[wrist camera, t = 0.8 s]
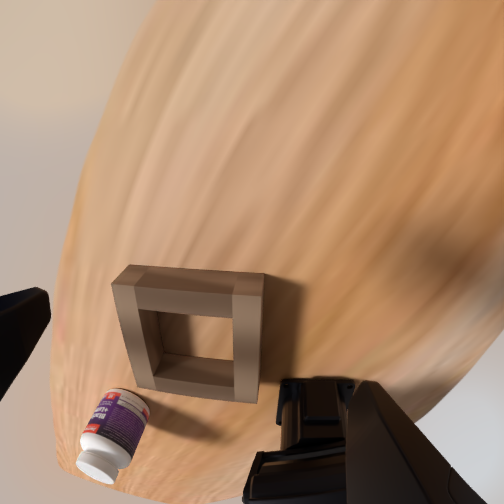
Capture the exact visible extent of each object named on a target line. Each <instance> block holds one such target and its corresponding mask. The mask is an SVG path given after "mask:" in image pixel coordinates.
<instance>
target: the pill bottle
mask: <svg viewBox="0 0 504 504" xmlns="http://www.w3.org/2000/svg"><path fill="white" fill-rule="evenodd" d="M149 416H150V411H149V408H148V406H147V405H146V403H145V402H144V401H143V400H142V399H140V398H139V397H138V396H136V395H134V394H133V393H131V392H128V391H126V390H123V389H117V388H115V389H110V390H108V391H107V392H106V393H105V395H104V396H103V398H102V400H101V402H100V403H99V405H98V407H97V409H96V410H95V412H94V414H93V416H92V418H91V419H90V421H89V423H88V425H87V427H86V428H85V430H84V432H83V434H82V436H81V439H80V443H81V446H82V448H83V450H84V451H82V452H81V453H80V455H79V457H78V459H77V461H76V465H77V467H78V468H79V469H80V470H81V471H83V472H84V473H85V474H87V475H88V476H90V477H92V478H93V479H95V480H98V481H100V482H103V483H106V484H113V483H114V482H115V480H116V478H117V476H118V472H119V471H118V469H123V468H126V467H128V466H129V464H130V462H131V460H132V458H133V456H134V453H135V450H136V448H137V446H138V443H139V441H140V438H141V436H142V433H143V431H144V429H145V426H146V424H147V422H148V419H149Z"/></svg>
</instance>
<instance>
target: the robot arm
mask: <svg viewBox="0 0 504 504" xmlns="http://www.w3.org/2000/svg"><path fill="white" fill-rule="evenodd" d="M50 319H51V310H50V302H49V295H48V293H47V291H45V290H43V289H40V288H38V287H33V288H30V289H26V290H22V291H18V292H14V293H10V294H7V295H3V296H0V401H1V399H2V398H3V397H4V395H5V393H6V392H7V390H8V389H9V387H10V385H11V384H12V383H13V381H14V379H15V378H16V376H17V375H18V373H19V372H20V371H21V369H22V367H23V366H24V365H25V363H26V362H27V360H28V358H29V357H30V355H31V353H32V351H33V350H34V348H35V346H36V344H37V342H38V341H39V339H40V337H41V335H42V334H43V332H44V330H45V328H46V327H47V325H48V323H49V322H50ZM285 384H288V385H285ZM349 385H350V386H349ZM354 389H355V382H354V381H353V380H306V379H283V380H282V381H281V382H280V390H279V399H278V408H277V416H276V424H277V425H280V426H282V427H281V447H280V450H279V451H270V452H264V451H260V452H257V453H256V456H255V459H254V461H253V464H252V467H251V470H250V473H249V476H248V479H247V482H246V484H245V487H244V490H243V497H242V502H243V503H244V504H487V503H486V502H485V501H484V500H483V499H482V498H481V497H480V496H479V495H478V494H477V493H476V492H475V491H474V490H473V489H472V488H471V487H470V486H469V485H468V484H467V483H466V482H465V481H464V480H463V478H462V477H461V476H460V475H459V474H458V473H457V472H456V471H455V469H454V468H453V467H451V465H450V464H449V463H448V462H447V460H446V459H445V458H444V457H443V456H442V455H441V453H440V452H439V451H438V450H437V449H436V448H435V447H434V446H433V445H432V443H431V442H430V441H429V440H428V439H427V438H426V436H425V435H424V434H423V433H422V432H421V431H420V430H419V428H418V427H417V426H416V425H415V424H414V423H413V422H412V420H411V419H410V418H409V417H408V416H407V415H406V414H405V412H404V411H403V410H402V409H401V408H400V407H399V406H398V405H397V403H396V402H395V401H394V400H393V399H392V398H391V397H390V395H389V394H388V393H387V392H386V391H385V390H384V389H383V388H382V386H381V385H380V384H379V383H378V382H375V381H368V380H365V381H363V382H361V384H360V385H359V387H358V388H357V390H356V392H355V393H354V395H353V392H354ZM352 395H353V396H352ZM347 409H348V419H347Z"/></svg>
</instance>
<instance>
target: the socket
mask: <svg viewBox="0 0 504 504" xmlns="http://www.w3.org/2000/svg"><path fill="white" fill-rule="evenodd" d="M111 286H112V291H113V296H114V300H115V305H116V309H117V314H118V318H119V322H120V326H121V330H122V334H123V338H124V342H125V346H126V349H127V353H128V356H129V360H130V363H131V367H132V370H133V374H134V377H135V380H136V383H137V387H139V388H144V389H150V390H155V391H160V392H166V393H172V394H178V395H185V396H191V397H198V398H206V399H214V400H223V401H232V402H243V403H255V404H257V400H258V391H259V382H260V368H261V346H262V322H263V297H264V274H262V273H245V272H228V271H212V270H197V269H182V268H167V267H154V266H140V265H128V266H127V267H126V269H125V270H124V271H123V272H122V273H121V274H120V275H119V276H118V277H117V278H116V279H115V280H114V281H113V282H112V283H111ZM157 311H161V312H170V313H179V314H189V315H200V316H211V317H222V318H233V358H234V361H229V360H218V359H209V358H200V357H192V356H184V355H176V354H169V353H164V350H163V344H162V339H161V333H160V328H159V322H158V316H157Z"/></svg>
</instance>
